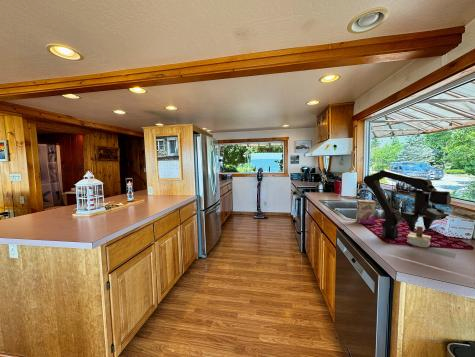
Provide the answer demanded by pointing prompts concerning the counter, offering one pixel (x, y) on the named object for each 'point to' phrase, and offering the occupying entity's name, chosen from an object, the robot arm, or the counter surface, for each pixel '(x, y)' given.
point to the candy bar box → (365, 212)
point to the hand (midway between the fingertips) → (419, 231)
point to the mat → (443, 252)
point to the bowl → (418, 242)
